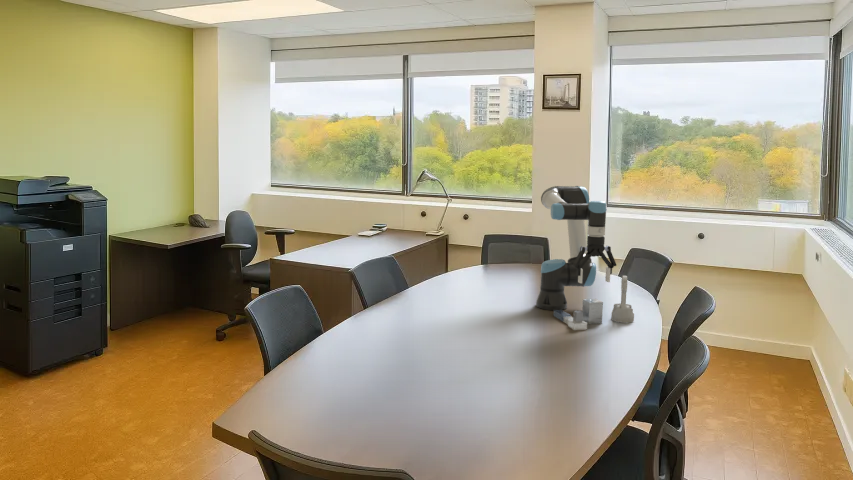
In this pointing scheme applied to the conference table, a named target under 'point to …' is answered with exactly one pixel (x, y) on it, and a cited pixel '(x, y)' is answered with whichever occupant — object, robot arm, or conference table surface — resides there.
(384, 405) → the conference table surface
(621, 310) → the engine component
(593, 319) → the grey textured cube
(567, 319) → the blue-grey beige mallet
